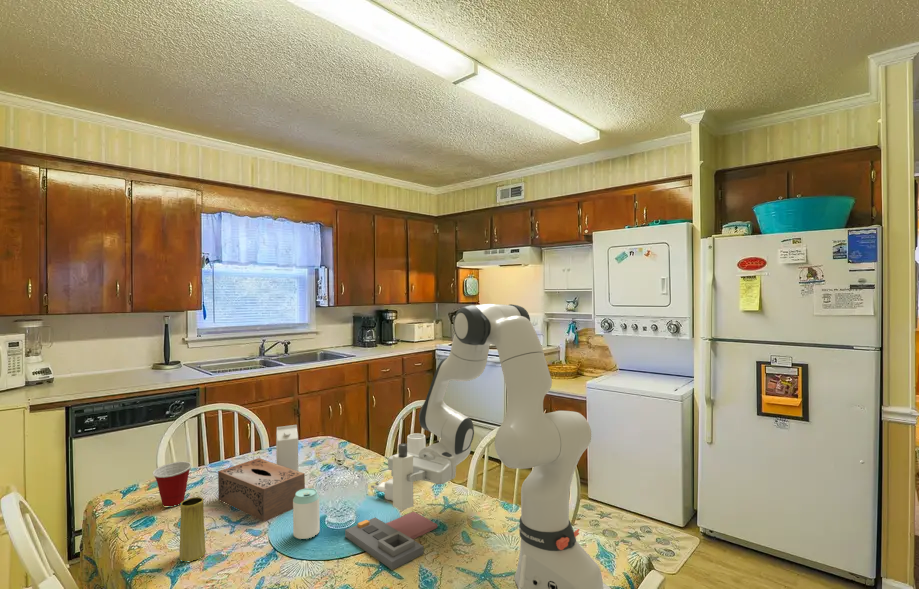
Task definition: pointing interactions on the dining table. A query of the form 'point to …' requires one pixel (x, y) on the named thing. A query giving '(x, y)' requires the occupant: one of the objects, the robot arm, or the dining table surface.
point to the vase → (192, 529)
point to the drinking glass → (416, 443)
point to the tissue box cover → (260, 488)
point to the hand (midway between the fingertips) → (400, 476)
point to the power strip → (384, 542)
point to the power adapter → (386, 488)
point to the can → (306, 513)
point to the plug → (402, 479)
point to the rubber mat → (412, 525)
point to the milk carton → (287, 446)
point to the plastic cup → (172, 482)
